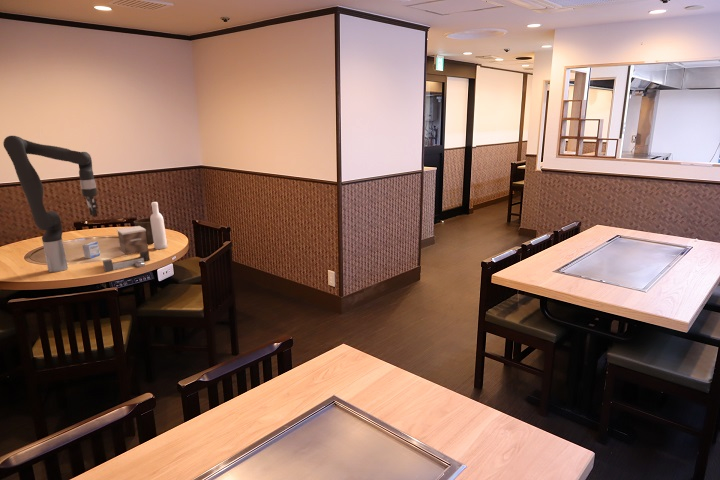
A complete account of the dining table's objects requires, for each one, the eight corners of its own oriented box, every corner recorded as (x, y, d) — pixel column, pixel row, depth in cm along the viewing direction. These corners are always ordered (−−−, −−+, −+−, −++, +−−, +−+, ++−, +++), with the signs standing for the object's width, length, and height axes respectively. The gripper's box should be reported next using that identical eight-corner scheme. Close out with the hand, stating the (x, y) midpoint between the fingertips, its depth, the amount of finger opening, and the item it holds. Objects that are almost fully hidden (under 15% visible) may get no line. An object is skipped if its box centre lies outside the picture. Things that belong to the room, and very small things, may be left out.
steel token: (135, 268, 264) (134, 264, 263) (135, 265, 268) (135, 262, 268) (144, 266, 266) (144, 263, 265) (145, 264, 270) (144, 261, 270)
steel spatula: (105, 272, 258) (103, 261, 256) (104, 271, 260) (102, 260, 258) (144, 264, 270) (143, 254, 268) (143, 263, 272) (141, 253, 271)
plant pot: (141, 247, 308) (137, 223, 304) (134, 243, 319) (130, 220, 315) (164, 242, 317) (161, 219, 313) (157, 239, 328) (153, 216, 324)
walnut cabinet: (127, 265, 269) (122, 233, 264) (121, 260, 279) (116, 229, 275) (150, 260, 276) (146, 229, 271) (144, 256, 287) (139, 225, 282)
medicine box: (91, 258, 285) (88, 245, 283) (84, 258, 286) (82, 244, 284) (100, 255, 293) (97, 241, 291) (94, 255, 294) (91, 241, 292)
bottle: (169, 247, 305) (163, 201, 297) (157, 250, 299) (150, 203, 292) (164, 245, 310) (157, 200, 303) (152, 248, 305) (145, 202, 297)
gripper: (79, 187, 269) (84, 215, 273) (83, 189, 258) (88, 218, 262) (93, 185, 274) (98, 213, 278) (98, 187, 263) (103, 216, 267)
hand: (93, 215), depth 270 cm, fingers open, 8 cm apart
